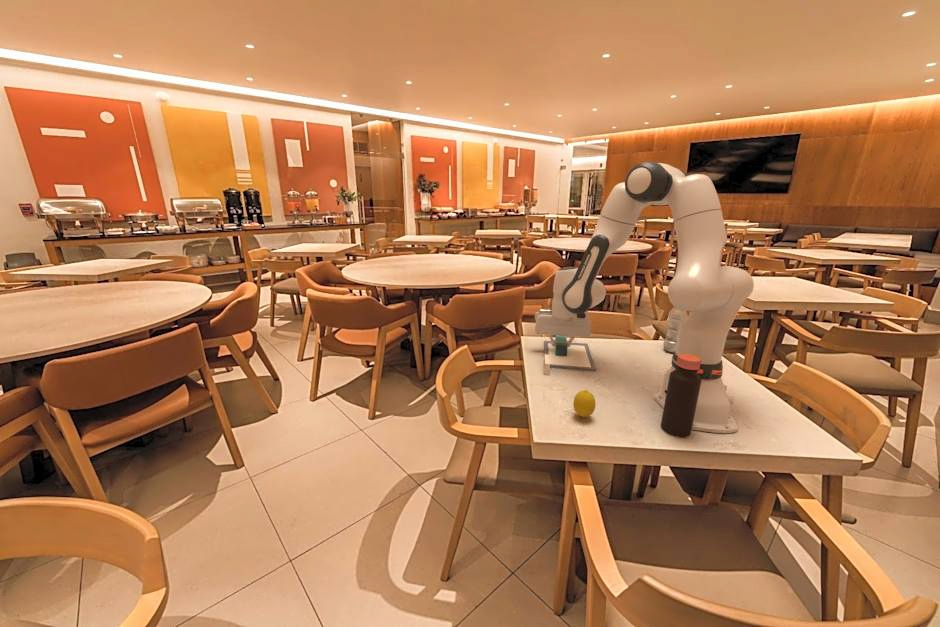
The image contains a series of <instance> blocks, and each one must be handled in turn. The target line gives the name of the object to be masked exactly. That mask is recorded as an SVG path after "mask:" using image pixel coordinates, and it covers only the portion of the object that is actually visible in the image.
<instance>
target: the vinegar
mask: <svg viewBox="0 0 940 627" xmlns="http://www.w3.org/2000/svg"><path fill="white" fill-rule="evenodd" d="M700 363H701V359H700V358H699V357H697V356H695V355H691V354H679V355H678V357H677V362H676V366H677V369H675V370H674V371H672V372H671V373H670V376H669V382H668V387H667V393H666V399H665V404H664V408H663V410H662V416H661V421H660V427H661V429H662V430H663V432H664V433H666V434H668V435H671V436H672V435H674V436H673V437H676V436H678V437H677V438H687V436H688V437H689V436H690V435H691V433H692V430H693V429H692V425H693V420H694V415H695V410H696V405H697V401H698V396H699V391H700V386H701V381H702V379H701V378H700V376H699V375H698V374H697V371H699V368H700Z"/></svg>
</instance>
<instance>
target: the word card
mask: <svg viewBox="0 0 940 627" xmlns="http://www.w3.org/2000/svg"><path fill="white" fill-rule="evenodd" d="M543 357H544V356H543ZM543 359H544V360H543V375H544V376H550V371H551V370H550V369H551V368H550V356H549V355H548V354H545V357H544V358H543Z"/></svg>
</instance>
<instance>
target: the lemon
mask: <svg viewBox="0 0 940 627" xmlns="http://www.w3.org/2000/svg"><path fill="white" fill-rule="evenodd" d="M573 410H574V412H575V413H576V414H577V415H578V416H580V417H581V418H587V417H590V416H591V415H592V414H593V413H594V412H595V410H596V399H595V396H594V395H593V393H592V392H591V391H588V390H587V389H584V390H580V391H578V392H577V393H576V394H575V396H574V398H573Z"/></svg>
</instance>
